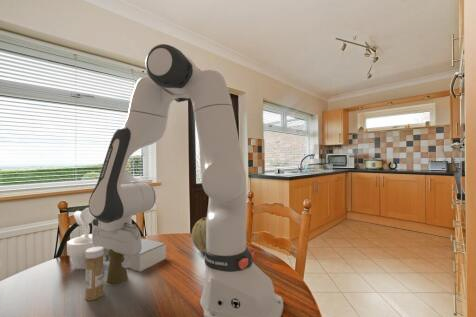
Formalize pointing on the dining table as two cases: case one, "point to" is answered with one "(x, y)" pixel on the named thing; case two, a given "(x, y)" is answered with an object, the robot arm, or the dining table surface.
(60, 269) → the dining table surface
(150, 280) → the dining table surface
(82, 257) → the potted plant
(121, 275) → the brown tapered cylinder
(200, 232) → the cantaloupe
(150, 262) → the white lidded box
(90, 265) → the sprinkles bottle
